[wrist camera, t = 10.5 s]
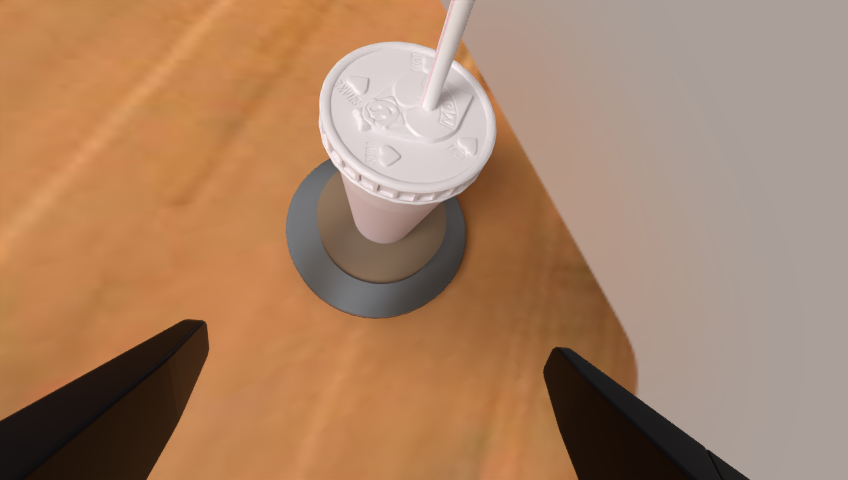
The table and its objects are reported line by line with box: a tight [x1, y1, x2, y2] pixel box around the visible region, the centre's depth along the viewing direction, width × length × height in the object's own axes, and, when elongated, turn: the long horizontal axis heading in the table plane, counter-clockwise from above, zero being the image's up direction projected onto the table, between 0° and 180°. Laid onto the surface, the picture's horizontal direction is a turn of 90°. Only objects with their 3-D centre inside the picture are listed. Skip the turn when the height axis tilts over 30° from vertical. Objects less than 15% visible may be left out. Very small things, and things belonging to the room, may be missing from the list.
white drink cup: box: [319, 0, 496, 244], centre depth 14 cm, size 6×6×14 cm
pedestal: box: [286, 158, 466, 319], centre depth 22 cm, size 12×12×4 cm
